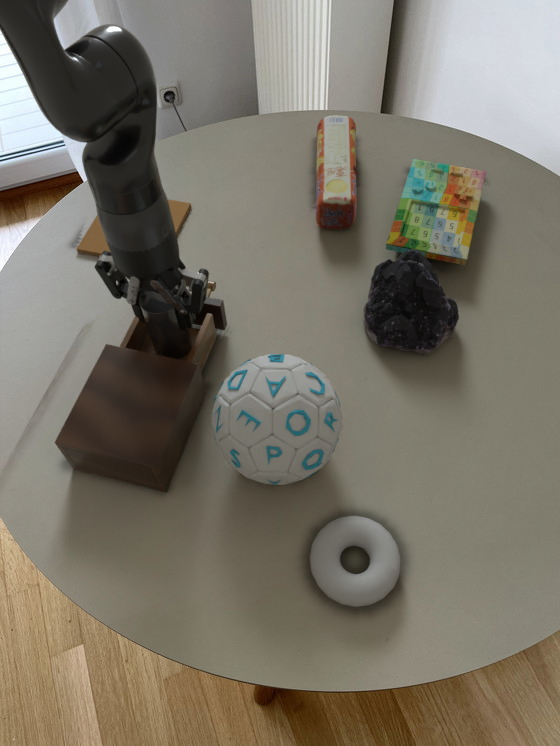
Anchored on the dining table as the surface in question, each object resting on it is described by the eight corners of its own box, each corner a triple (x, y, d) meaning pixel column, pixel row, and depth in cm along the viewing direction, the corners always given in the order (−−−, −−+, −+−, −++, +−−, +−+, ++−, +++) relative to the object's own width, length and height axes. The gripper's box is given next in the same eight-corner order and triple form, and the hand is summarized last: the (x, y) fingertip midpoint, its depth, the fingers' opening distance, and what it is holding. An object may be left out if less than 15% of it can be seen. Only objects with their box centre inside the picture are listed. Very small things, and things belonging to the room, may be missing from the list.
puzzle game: (487, 166, 103) (468, 255, 92) (481, 189, 106) (461, 278, 96) (414, 153, 105) (386, 239, 95) (410, 177, 109) (383, 262, 98)
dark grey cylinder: (148, 356, 88) (131, 309, 79) (162, 326, 91) (147, 278, 82) (184, 364, 87) (171, 317, 79) (197, 333, 90) (186, 285, 81)
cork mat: (77, 252, 102) (76, 248, 101) (113, 193, 109) (112, 189, 109) (160, 268, 99) (159, 264, 99) (191, 206, 107) (190, 202, 106)
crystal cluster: (427, 378, 87) (448, 332, 79) (340, 331, 91) (352, 282, 83) (465, 316, 94) (489, 268, 86) (383, 275, 98) (398, 225, 90)
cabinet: (119, 374, 89) (105, 343, 83) (206, 393, 87) (198, 363, 81) (72, 468, 81) (54, 442, 75) (166, 492, 79) (155, 467, 73)
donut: (310, 521, 76) (309, 609, 71) (310, 510, 73) (309, 600, 68) (395, 523, 76) (401, 611, 70) (399, 511, 73) (405, 602, 67)
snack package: (355, 232, 102) (358, 199, 96) (313, 232, 102) (314, 199, 97) (354, 146, 114) (356, 112, 108) (316, 146, 114) (317, 112, 109)
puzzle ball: (213, 502, 78) (195, 444, 65) (226, 395, 86) (212, 325, 74) (340, 507, 77) (346, 449, 65) (340, 398, 85) (346, 328, 73)
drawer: (163, 287, 96) (156, 262, 92) (236, 302, 94) (232, 277, 90) (114, 385, 87) (104, 363, 82) (195, 403, 85) (189, 381, 80)
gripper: (211, 211, 71) (227, 310, 85) (92, 191, 74) (126, 290, 88) (188, 260, 67) (209, 355, 81) (62, 237, 70) (104, 333, 84)
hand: (166, 321), depth 84 cm, fingers closed on dark grey cylinder, 5 cm apart
